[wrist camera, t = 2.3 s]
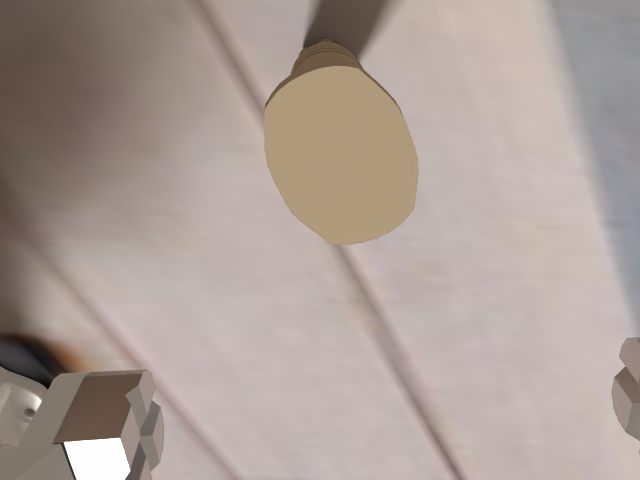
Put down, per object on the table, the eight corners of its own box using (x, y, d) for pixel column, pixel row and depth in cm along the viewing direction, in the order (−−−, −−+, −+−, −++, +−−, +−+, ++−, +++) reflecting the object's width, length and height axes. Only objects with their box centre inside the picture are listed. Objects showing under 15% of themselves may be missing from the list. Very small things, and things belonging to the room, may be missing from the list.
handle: (342, -7, 31) (375, 41, 18) (384, 102, 34) (439, 213, 21) (260, 31, 32) (235, 104, 19) (308, 135, 35) (315, 262, 22)
